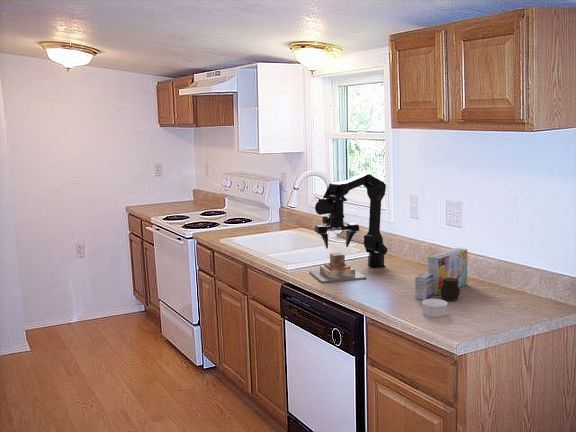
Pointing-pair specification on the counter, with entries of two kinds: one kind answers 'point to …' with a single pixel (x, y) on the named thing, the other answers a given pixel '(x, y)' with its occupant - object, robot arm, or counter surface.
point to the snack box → (448, 267)
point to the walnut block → (337, 259)
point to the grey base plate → (324, 279)
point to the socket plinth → (337, 271)
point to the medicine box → (424, 286)
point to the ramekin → (434, 307)
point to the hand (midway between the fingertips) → (336, 247)
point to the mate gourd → (450, 289)
